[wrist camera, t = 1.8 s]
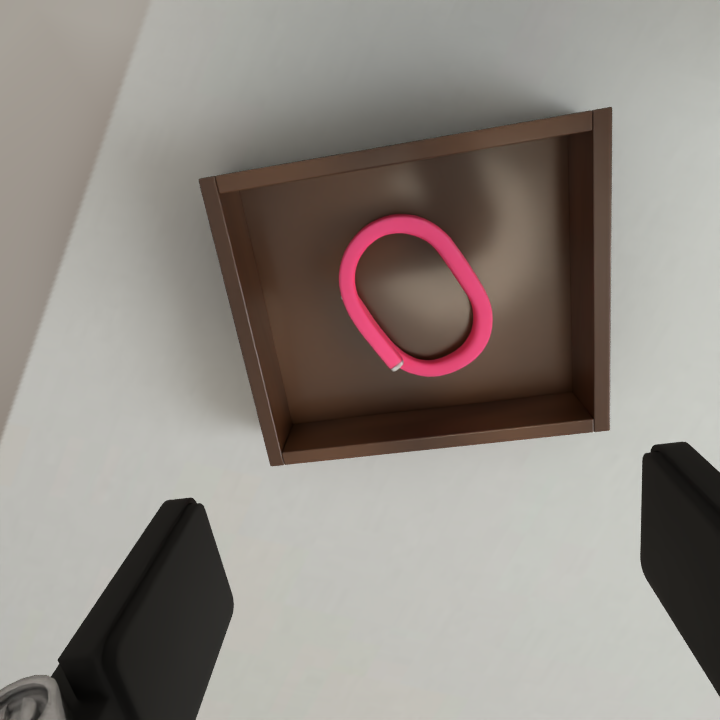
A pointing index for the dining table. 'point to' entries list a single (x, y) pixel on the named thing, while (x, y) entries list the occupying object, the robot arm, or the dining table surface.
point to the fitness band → (457, 266)
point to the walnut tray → (425, 289)
